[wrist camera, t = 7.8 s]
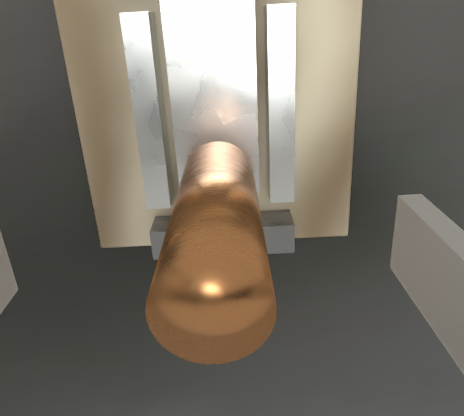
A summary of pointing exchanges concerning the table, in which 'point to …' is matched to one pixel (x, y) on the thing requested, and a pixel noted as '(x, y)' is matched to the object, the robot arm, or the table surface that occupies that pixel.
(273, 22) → the rails
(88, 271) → the table surface
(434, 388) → the table surface
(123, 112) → the board
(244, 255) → the ram
